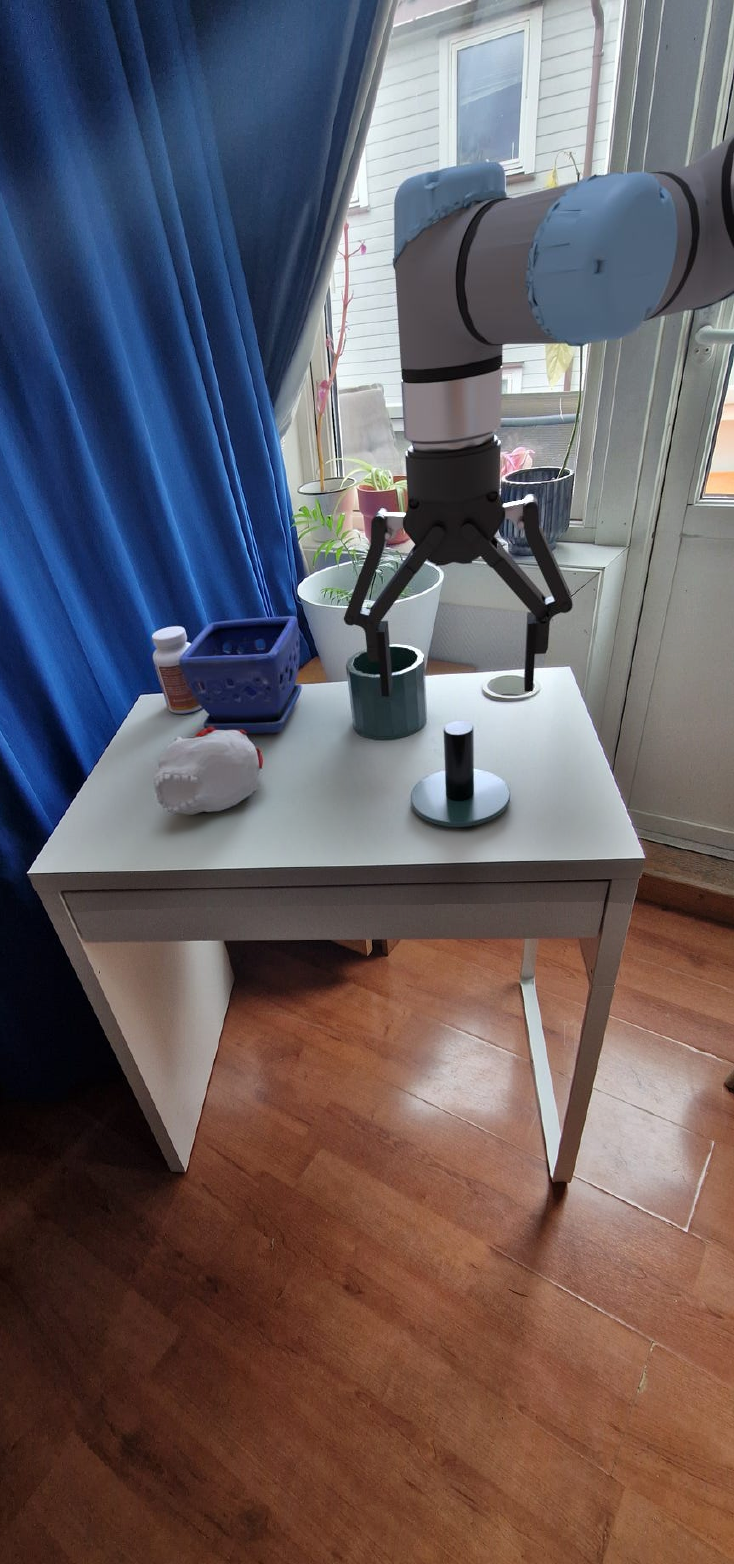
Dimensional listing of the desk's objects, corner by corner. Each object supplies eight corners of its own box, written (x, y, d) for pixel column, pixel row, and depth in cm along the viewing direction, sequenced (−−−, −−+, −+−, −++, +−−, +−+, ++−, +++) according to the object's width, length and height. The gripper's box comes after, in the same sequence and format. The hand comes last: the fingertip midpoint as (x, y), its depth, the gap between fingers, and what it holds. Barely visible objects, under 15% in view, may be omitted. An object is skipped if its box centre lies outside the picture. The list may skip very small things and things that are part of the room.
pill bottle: (217, 701, 108) (199, 628, 101) (184, 719, 105) (163, 644, 98) (192, 692, 112) (173, 620, 105) (160, 709, 109) (137, 636, 102)
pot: (429, 703, 99) (426, 642, 93) (423, 738, 91) (419, 675, 86) (359, 705, 101) (352, 646, 95) (348, 740, 94) (340, 678, 88)
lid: (509, 776, 82) (512, 701, 77) (509, 831, 75) (512, 753, 69) (416, 777, 85) (411, 705, 79) (406, 831, 77) (400, 756, 71)
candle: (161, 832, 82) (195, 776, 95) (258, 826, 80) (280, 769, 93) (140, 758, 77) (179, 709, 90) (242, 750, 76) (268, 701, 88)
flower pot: (196, 743, 99) (173, 659, 91) (227, 698, 108) (208, 618, 101) (290, 742, 95) (273, 655, 88) (313, 695, 105) (300, 613, 97)
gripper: (614, 411, 58) (587, 665, 71) (309, 446, 63) (338, 676, 77) (625, 429, 52) (594, 701, 66) (290, 466, 58) (325, 710, 71)
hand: (456, 688), depth 71 cm, fingers open, 13 cm apart
